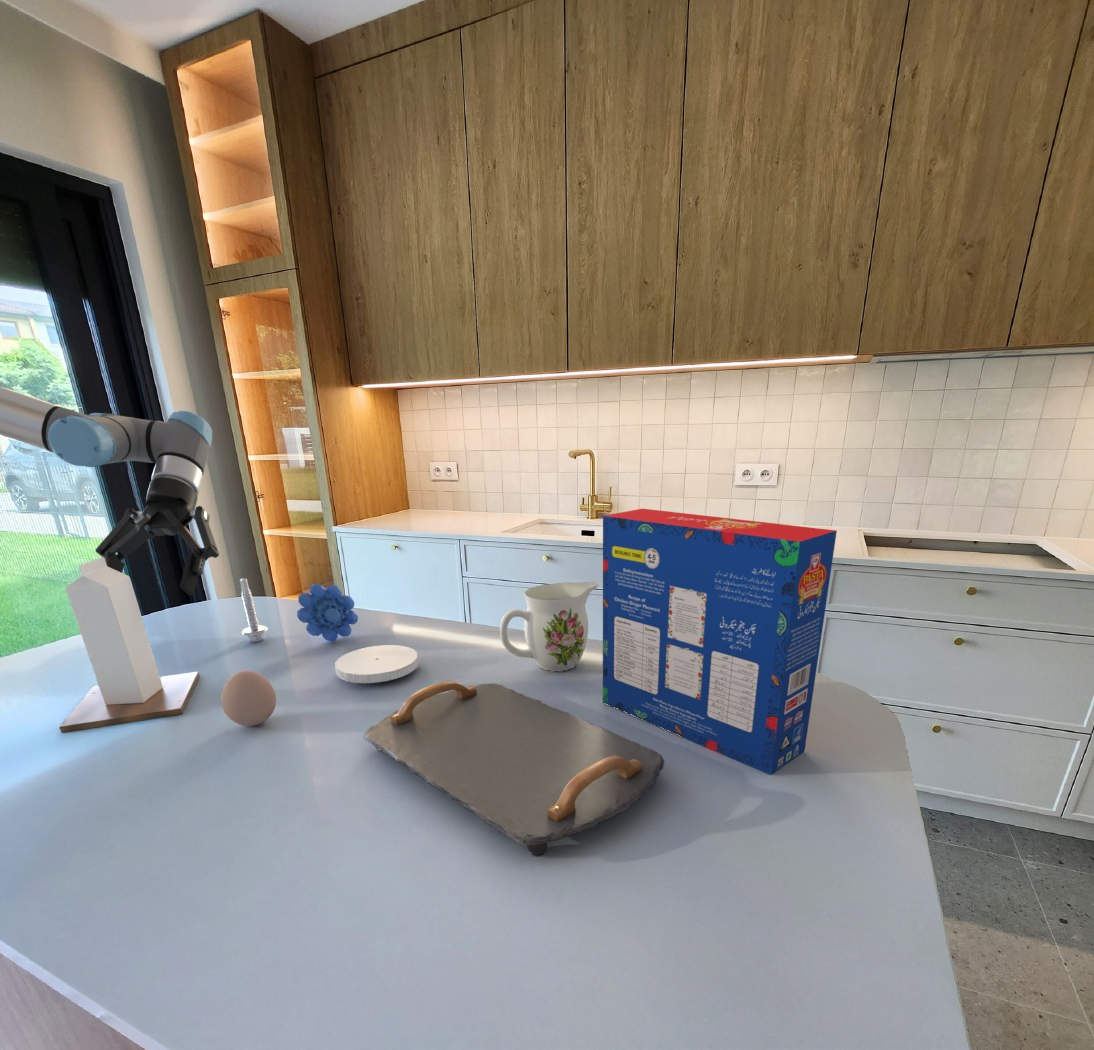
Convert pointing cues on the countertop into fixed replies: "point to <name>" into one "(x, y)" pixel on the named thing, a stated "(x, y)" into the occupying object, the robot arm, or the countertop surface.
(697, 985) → the countertop surface
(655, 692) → the pasta box
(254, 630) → the screw
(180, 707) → the board
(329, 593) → the blue flower
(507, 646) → the pitcher
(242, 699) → the egg
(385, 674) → the plastic lid
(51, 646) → the countertop surface
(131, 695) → the milk
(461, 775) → the serving tray
